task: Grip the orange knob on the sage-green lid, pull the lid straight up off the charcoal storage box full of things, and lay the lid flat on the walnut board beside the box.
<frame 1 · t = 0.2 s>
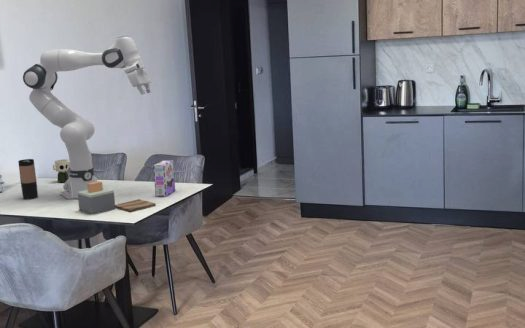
hand: (146, 93, 285), 52 cm above the table, tool tilted 20°, fingers open, 8 cm apart
walnut board: (134, 206, 270), on the table
candy box: (165, 194, 294), on the table
storage box: (97, 209, 267), on the table
lid: (95, 195, 266), point 7 cm above the table, touching storage box
travel mug: (30, 198, 298), on the table
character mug: (63, 182, 336), on the table
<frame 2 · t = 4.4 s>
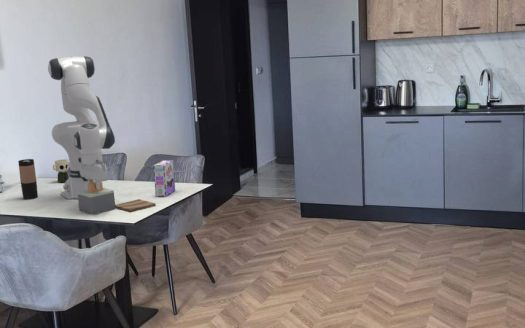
hand: (95, 188, 265), 10 cm above the table, tool pointing down, fingers closed on lid, 3 cm apart
lid: (95, 195, 266), point 7 cm above the table, touching gripper, storage box
everything else where it was.
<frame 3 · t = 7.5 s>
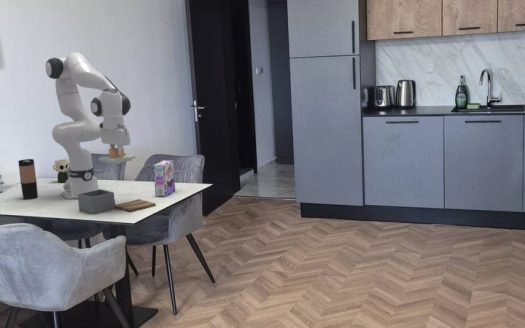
hand: (116, 154, 264), 26 cm above the table, tool pointing down, fingers closed on lid, 3 cm apart
lid: (117, 161, 264), point 22 cm above the table, touching gripper
everything else where it was.
when the fingers open (6 cm above the table, at t = 10.8 s): lid drops 1 cm, resting on walnut board.
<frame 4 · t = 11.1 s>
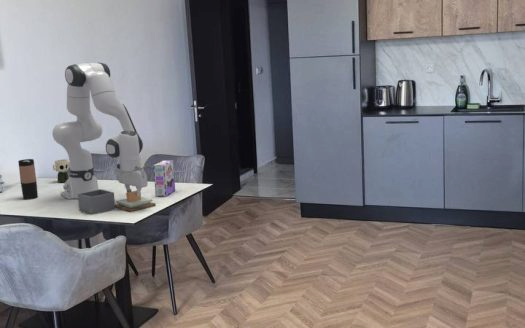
hand: (133, 194, 269), 6 cm above the table, tool pointing down, fingers open, 6 cm apart
lid: (134, 204, 270), point 1 cm above the table, touching walnut board
everything else where it was.
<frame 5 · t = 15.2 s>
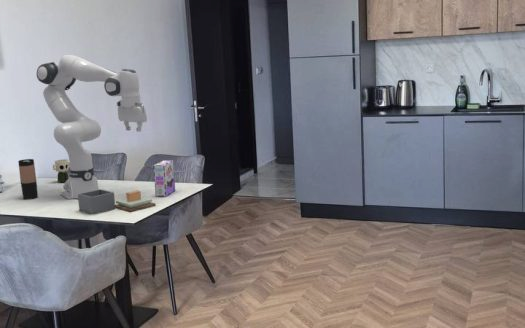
hand: (133, 130, 280), 34 cm above the table, tool pointing down, fingers open, 8 cm apart
nothing on the table moved.
at the end: lid 0.1 cm off-centre on the walnut board, point 1.2 cm above the walnut board's base; lid tilted 0°; the gripper is holding nothing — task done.
